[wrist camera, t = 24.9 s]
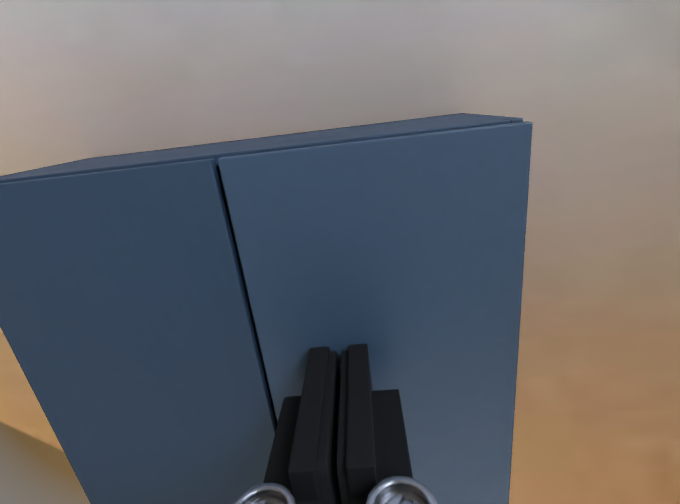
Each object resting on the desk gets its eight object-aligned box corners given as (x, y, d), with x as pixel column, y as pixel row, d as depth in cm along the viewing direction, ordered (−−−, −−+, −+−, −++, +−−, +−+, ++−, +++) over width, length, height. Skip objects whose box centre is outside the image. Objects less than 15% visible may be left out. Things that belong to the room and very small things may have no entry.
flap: (220, 157, 9) (216, 159, 9) (527, 120, 9) (533, 121, 8) (304, 530, 14) (303, 538, 14) (504, 522, 13) (507, 531, 13)
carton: (87, 158, 15) (-74, 190, 9) (463, 113, 14) (537, 118, 8) (179, 422, 20) (110, 547, 14) (463, 404, 19) (509, 532, 13)
